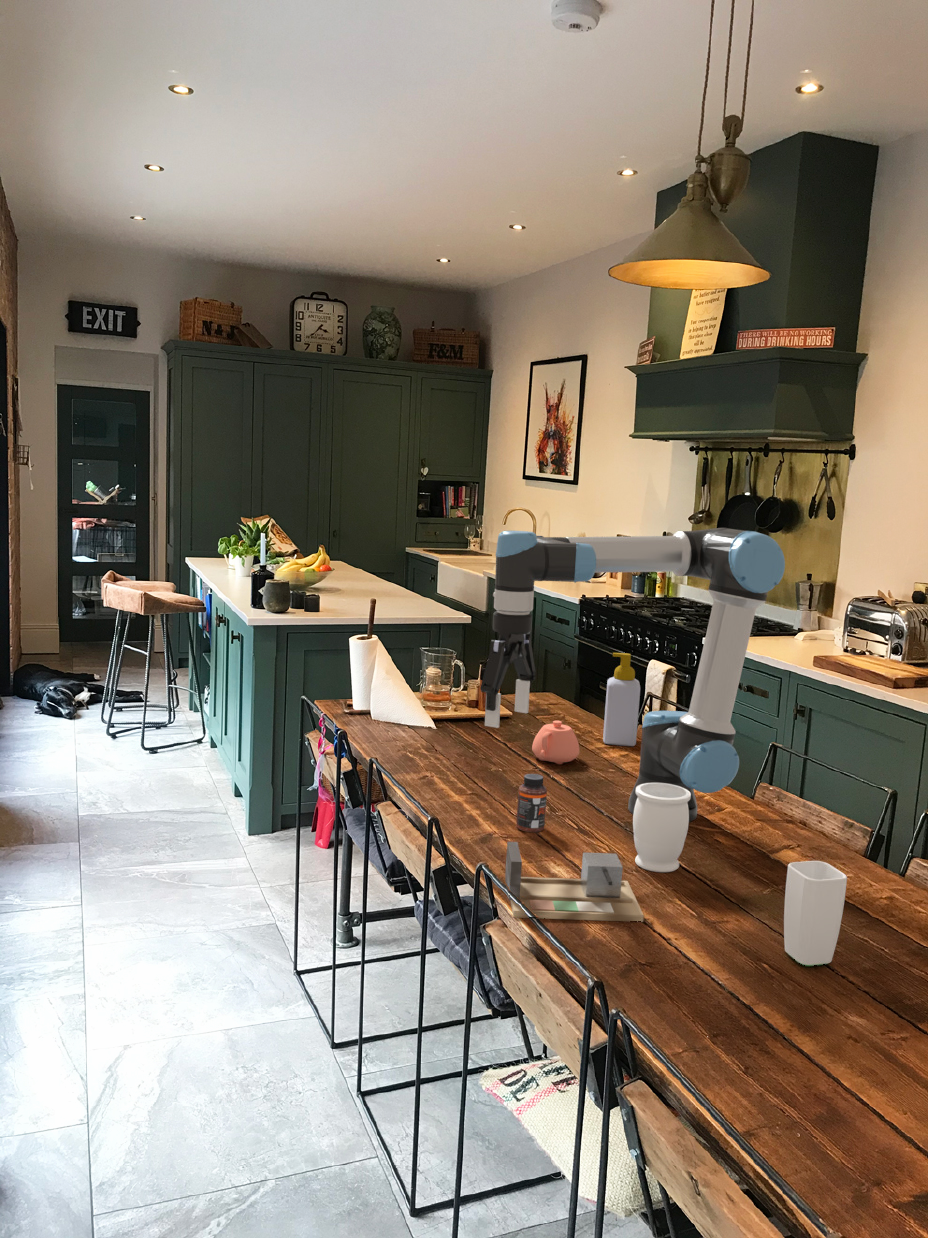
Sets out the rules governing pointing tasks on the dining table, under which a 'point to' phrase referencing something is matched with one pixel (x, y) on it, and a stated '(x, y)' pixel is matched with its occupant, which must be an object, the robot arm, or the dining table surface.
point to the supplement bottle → (531, 804)
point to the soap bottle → (622, 705)
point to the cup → (813, 911)
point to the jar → (660, 825)
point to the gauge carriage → (601, 875)
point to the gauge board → (564, 896)
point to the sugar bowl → (556, 743)
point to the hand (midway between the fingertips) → (507, 719)
